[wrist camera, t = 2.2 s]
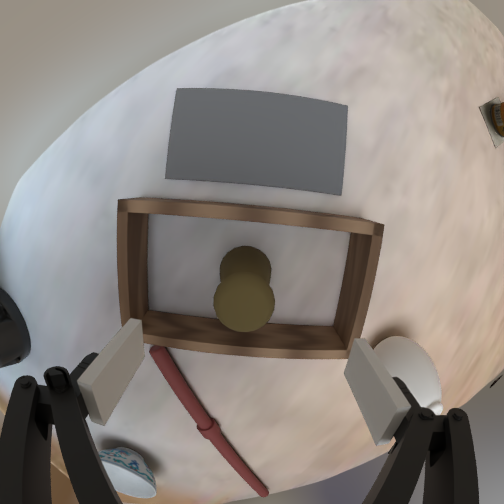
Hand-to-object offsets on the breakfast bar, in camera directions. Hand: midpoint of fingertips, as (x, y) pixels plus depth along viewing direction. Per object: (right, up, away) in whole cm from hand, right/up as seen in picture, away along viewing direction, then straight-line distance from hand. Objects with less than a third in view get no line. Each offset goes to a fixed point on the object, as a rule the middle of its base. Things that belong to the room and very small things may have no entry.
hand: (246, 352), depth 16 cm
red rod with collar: (-5, -27, +24) cm, 36 cm away
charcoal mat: (+1, +19, +13) cm, 23 cm away
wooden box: (0, +4, +17) cm, 17 cm away
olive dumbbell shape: (0, +4, +17) cm, 17 cm away
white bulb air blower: (+19, -8, +20) cm, 29 cm away
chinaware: (-26, -37, +26) cm, 52 cm away
